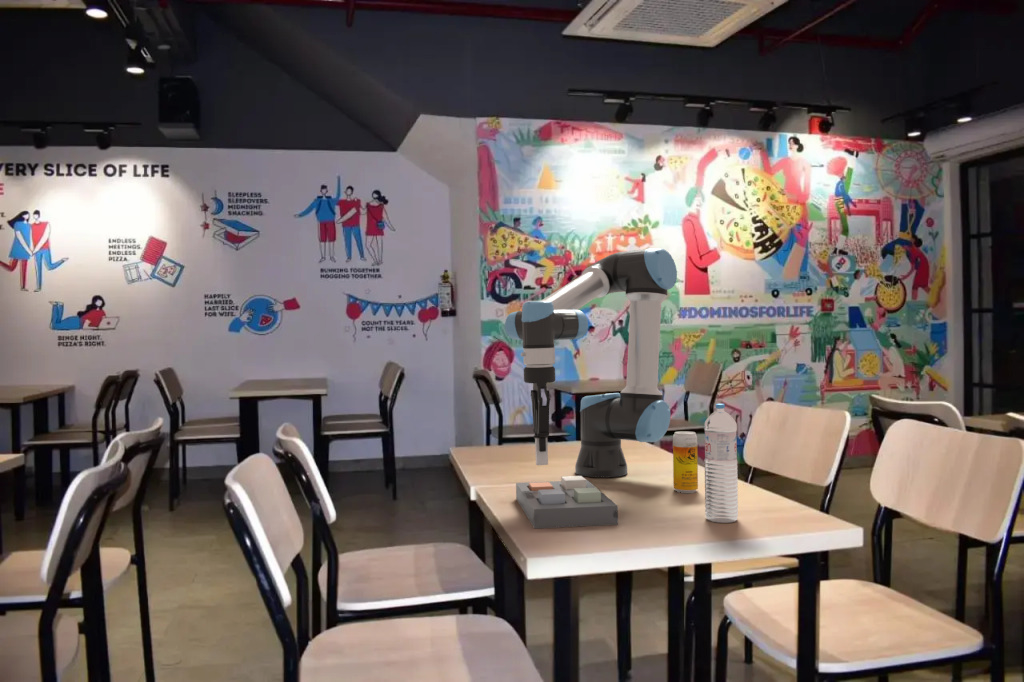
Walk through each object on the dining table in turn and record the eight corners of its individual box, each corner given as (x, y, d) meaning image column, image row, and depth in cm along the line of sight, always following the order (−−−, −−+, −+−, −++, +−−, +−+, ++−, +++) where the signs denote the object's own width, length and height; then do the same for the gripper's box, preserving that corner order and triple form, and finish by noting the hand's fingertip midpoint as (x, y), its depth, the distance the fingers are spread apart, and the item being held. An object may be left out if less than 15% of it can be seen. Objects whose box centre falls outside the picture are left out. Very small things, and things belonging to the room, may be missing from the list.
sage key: (595, 500, 162) (595, 487, 162) (601, 506, 157) (600, 492, 157) (573, 501, 162) (573, 488, 162) (578, 506, 157) (578, 493, 157)
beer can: (684, 494, 181) (683, 434, 181) (668, 490, 186) (667, 432, 186) (703, 491, 184) (702, 433, 184) (686, 487, 189) (686, 430, 189)
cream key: (581, 488, 176) (581, 475, 176) (586, 492, 171) (586, 479, 171) (561, 488, 175) (561, 476, 175) (565, 493, 170) (565, 480, 170)
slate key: (560, 502, 161) (560, 488, 161) (565, 507, 156) (564, 493, 156) (538, 503, 161) (538, 489, 161) (542, 508, 156) (542, 494, 156)
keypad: (587, 496, 181) (587, 480, 181) (618, 524, 153) (617, 505, 153) (516, 498, 179) (516, 482, 179) (534, 528, 151) (534, 509, 151)
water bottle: (733, 525, 151) (731, 406, 151) (701, 521, 155) (699, 404, 155) (741, 518, 157) (740, 403, 157) (710, 514, 161) (709, 402, 161)
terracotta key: (549, 494, 175) (549, 482, 175) (553, 499, 170) (552, 486, 170) (528, 495, 174) (528, 482, 174) (532, 499, 169) (532, 487, 169)
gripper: (519, 365, 178) (522, 460, 179) (527, 368, 165) (530, 470, 166) (549, 364, 179) (552, 458, 180) (559, 366, 166) (562, 468, 167)
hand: (542, 464), depth 173 cm, fingers closed
